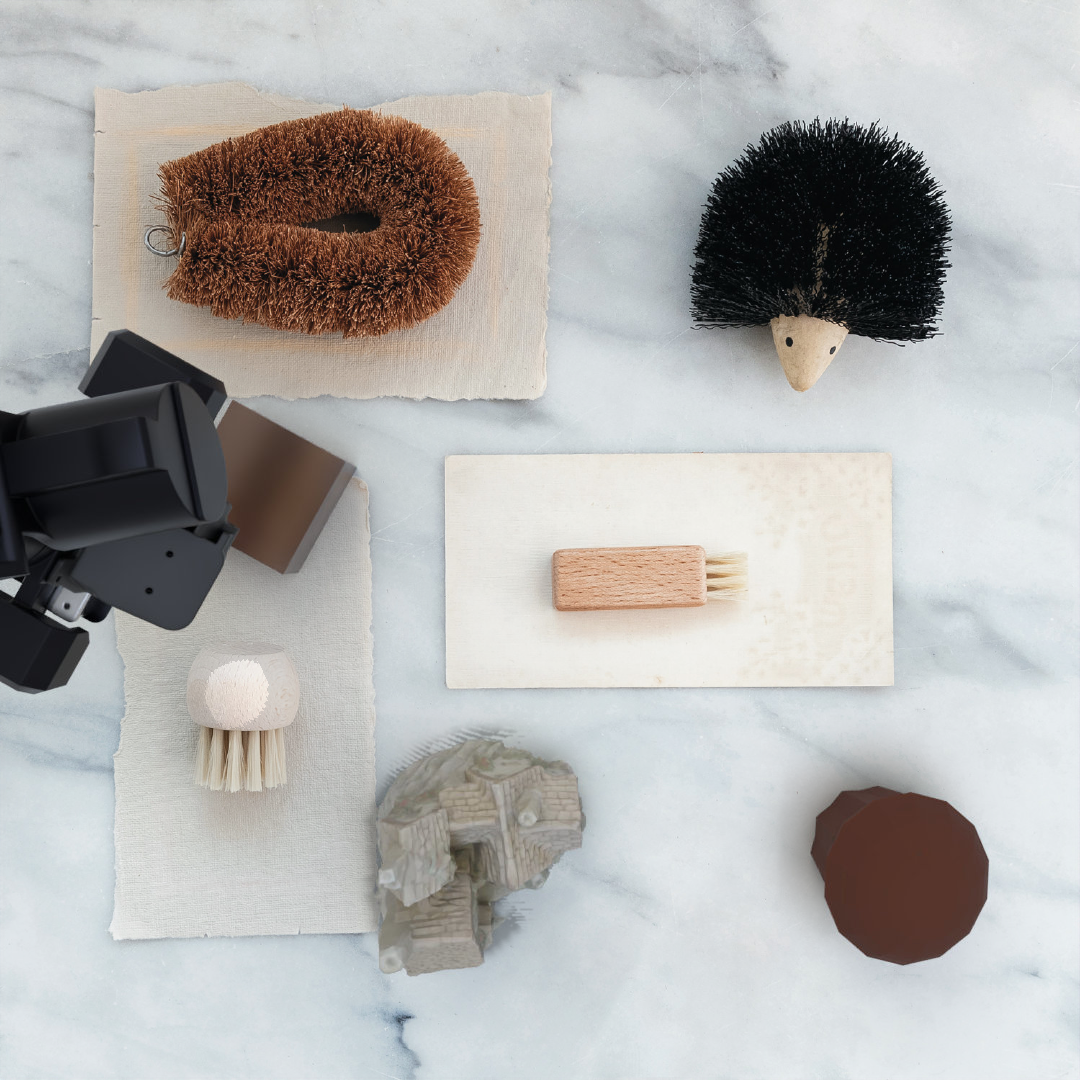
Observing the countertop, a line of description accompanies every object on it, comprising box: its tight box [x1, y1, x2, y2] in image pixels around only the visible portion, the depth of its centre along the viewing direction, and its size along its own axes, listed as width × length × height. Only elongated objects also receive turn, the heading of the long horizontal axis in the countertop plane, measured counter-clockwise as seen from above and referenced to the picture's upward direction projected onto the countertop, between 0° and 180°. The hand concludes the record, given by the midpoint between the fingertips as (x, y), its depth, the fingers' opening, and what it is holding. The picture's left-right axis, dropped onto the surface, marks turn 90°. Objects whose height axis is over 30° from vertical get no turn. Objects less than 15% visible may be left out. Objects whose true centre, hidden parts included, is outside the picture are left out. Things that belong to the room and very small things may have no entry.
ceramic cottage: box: [374, 738, 587, 977], centre depth 57 cm, size 16×16×15 cm
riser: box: [216, 399, 358, 575], centre depth 61 cm, size 9×9×5 cm
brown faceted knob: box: [810, 785, 990, 967], centre depth 59 cm, size 12×11×10 cm
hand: (159, 517), depth 52 cm, fingers closed on boat, 3 cm apart
